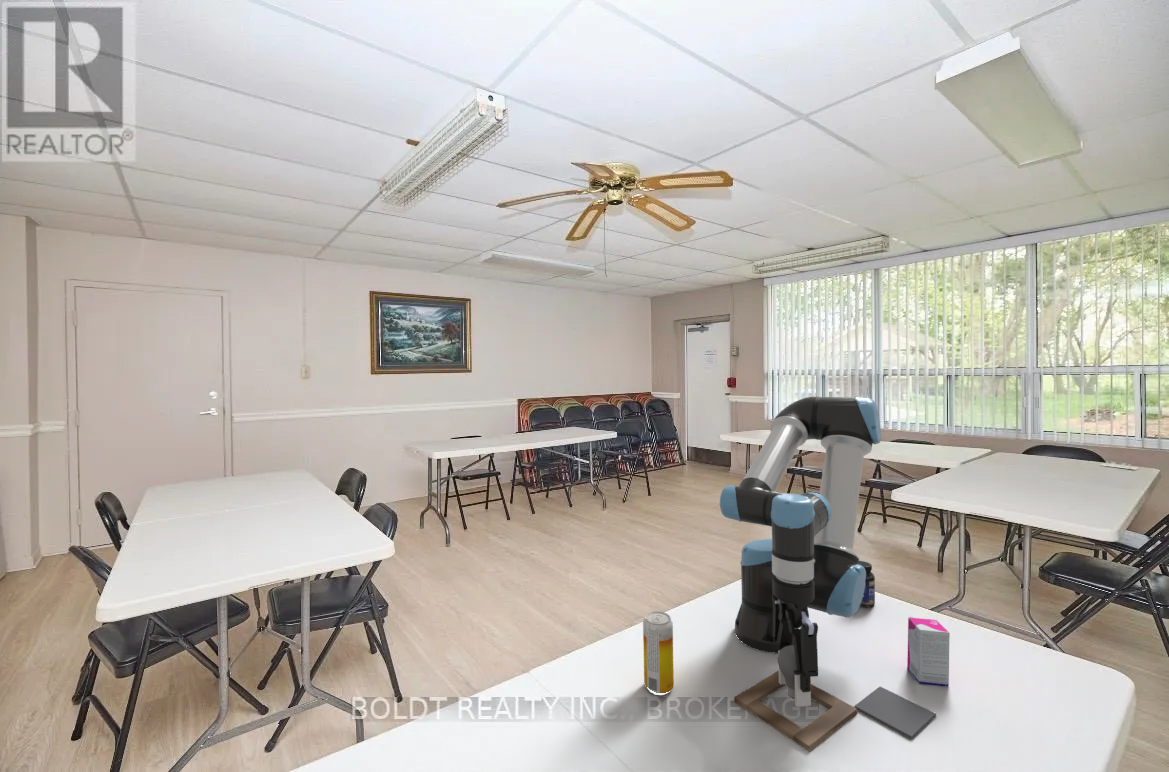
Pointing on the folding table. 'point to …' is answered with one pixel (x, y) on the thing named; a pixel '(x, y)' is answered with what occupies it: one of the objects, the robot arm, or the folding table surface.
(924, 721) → the mat
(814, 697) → the wooden picture frame
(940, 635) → the supplement box
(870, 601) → the pill bottle
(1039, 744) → the folding table surface
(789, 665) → the light bulb
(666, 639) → the beer can
